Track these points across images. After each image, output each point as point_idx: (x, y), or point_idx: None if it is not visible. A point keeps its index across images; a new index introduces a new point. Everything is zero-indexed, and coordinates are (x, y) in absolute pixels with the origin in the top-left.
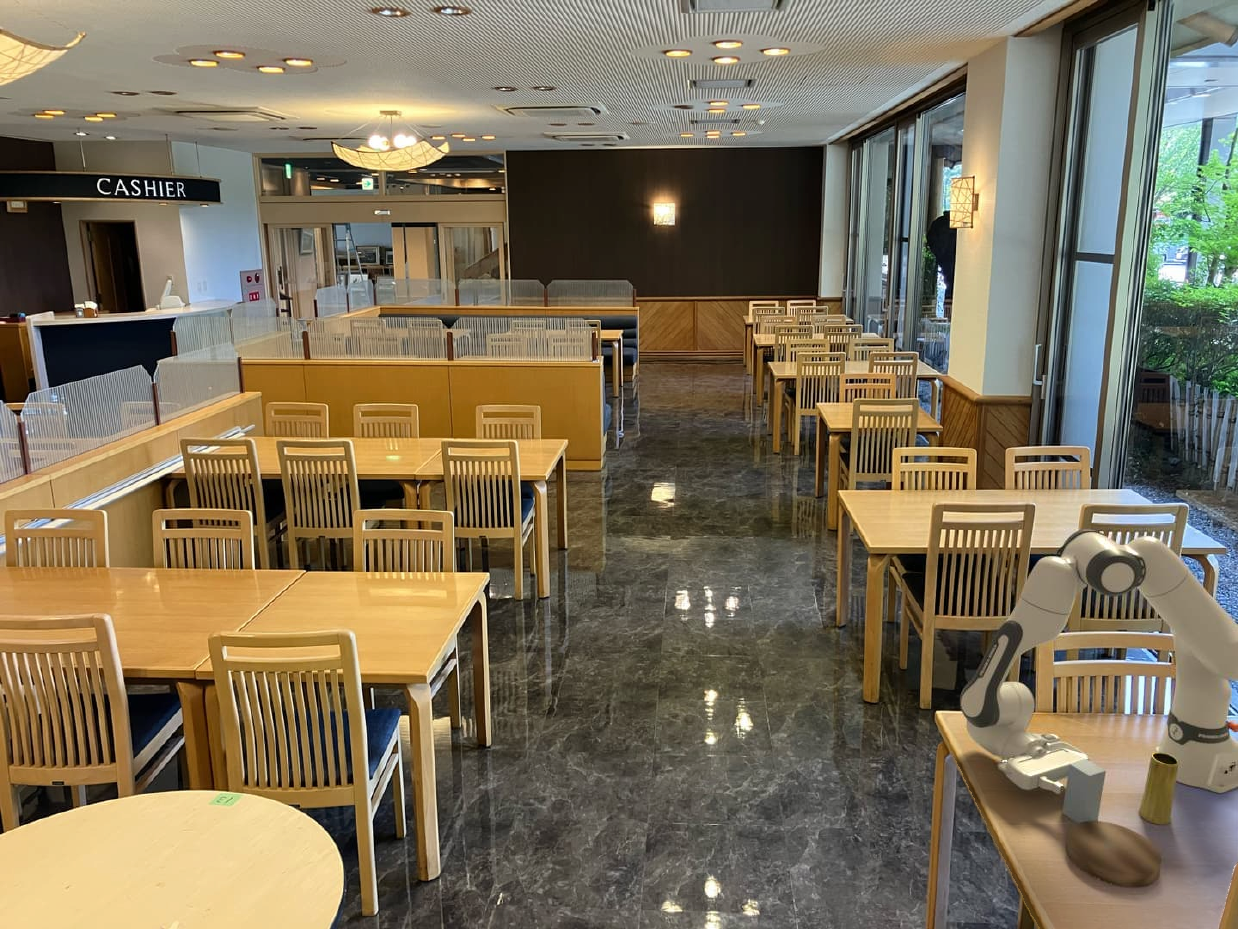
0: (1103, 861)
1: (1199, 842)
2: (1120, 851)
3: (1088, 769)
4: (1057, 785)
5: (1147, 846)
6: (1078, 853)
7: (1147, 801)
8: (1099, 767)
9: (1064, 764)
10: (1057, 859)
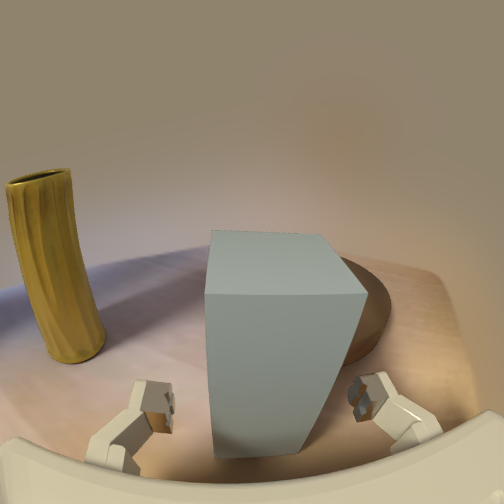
0: (354, 270)
1: (105, 283)
2: None
3: (290, 248)
4: (386, 379)
5: None
6: (386, 290)
7: (85, 308)
8: (215, 242)
9: (231, 494)
10: (404, 328)
